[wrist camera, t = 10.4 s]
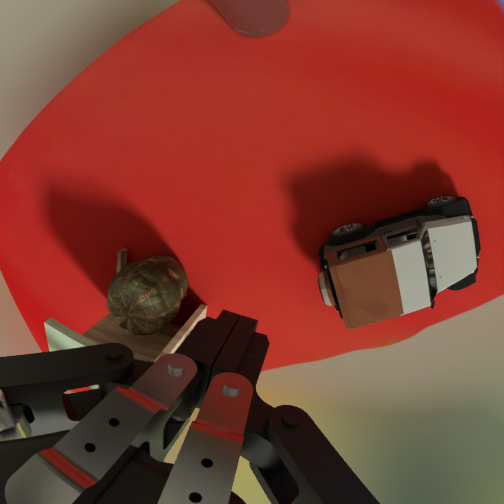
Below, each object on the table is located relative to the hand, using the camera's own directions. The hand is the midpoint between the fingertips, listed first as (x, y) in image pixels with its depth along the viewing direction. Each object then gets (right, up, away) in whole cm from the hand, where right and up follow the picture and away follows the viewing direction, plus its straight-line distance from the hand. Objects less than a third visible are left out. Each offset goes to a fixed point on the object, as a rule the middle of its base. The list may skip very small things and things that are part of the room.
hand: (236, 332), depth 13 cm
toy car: (+22, +3, +29) cm, 36 cm away
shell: (-14, -1, +38) cm, 41 cm away
